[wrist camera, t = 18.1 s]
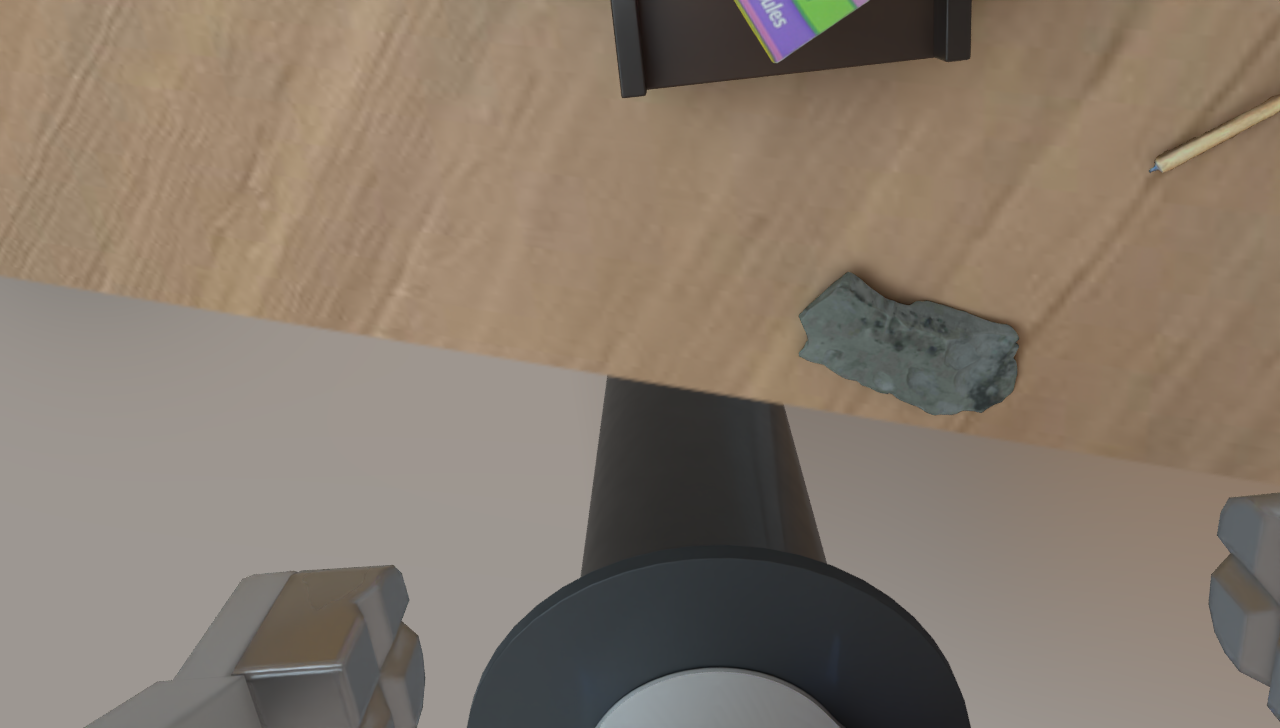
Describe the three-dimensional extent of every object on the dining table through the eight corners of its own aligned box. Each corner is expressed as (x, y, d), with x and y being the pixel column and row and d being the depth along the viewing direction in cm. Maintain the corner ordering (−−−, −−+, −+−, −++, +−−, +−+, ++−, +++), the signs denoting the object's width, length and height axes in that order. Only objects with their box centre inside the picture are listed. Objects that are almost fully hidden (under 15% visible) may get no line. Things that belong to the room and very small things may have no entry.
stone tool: (1052, 343, 40) (999, 443, 42) (1036, 329, 42) (984, 426, 44) (830, 270, 39) (783, 377, 41) (821, 258, 40) (777, 362, 42)
